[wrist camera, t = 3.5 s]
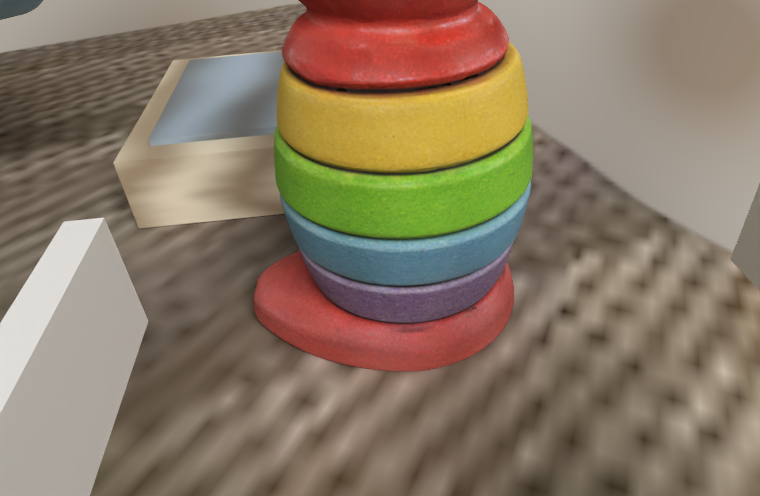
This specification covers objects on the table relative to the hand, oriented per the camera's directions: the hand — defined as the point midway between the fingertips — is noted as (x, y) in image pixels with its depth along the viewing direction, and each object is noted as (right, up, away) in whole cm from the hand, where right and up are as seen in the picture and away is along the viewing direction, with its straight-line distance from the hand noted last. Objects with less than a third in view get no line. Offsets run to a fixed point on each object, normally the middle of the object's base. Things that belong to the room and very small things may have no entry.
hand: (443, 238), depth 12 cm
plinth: (-8, +6, +25) cm, 27 cm away
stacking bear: (0, -2, +14) cm, 14 cm away
